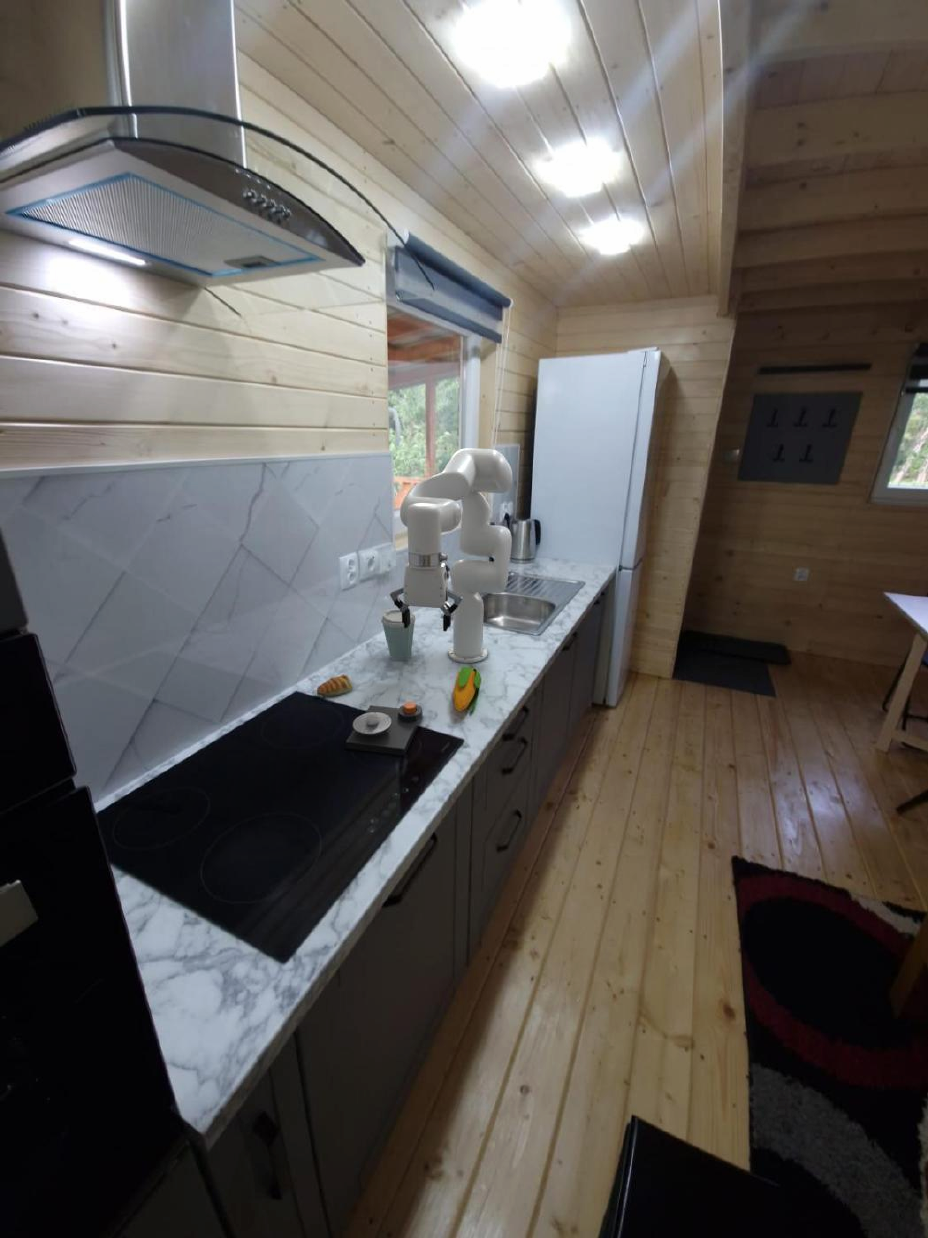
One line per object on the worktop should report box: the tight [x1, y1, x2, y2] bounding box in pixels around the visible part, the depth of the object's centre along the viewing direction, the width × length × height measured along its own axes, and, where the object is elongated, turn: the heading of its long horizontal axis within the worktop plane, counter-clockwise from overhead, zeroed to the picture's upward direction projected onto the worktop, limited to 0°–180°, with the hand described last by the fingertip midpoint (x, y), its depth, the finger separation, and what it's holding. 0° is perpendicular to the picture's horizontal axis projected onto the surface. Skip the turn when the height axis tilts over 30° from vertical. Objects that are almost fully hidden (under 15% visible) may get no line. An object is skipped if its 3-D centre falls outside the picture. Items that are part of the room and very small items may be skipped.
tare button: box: [403, 701, 417, 714], centre depth 124 cm, size 3×3×2 cm
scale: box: [345, 703, 424, 757], centre depth 120 cm, size 16×14×4 cm
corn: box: [452, 666, 482, 712], centre depth 133 cm, size 7×8×20 cm
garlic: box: [366, 710, 379, 725], centre depth 117 cm, size 3×4×3 cm
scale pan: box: [352, 712, 391, 736], centre depth 117 cm, size 9×9×1 cm
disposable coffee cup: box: [380, 608, 416, 662], centre depth 156 cm, size 11×11×15 cm
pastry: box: [316, 674, 354, 698], centre depth 138 cm, size 9×7×4 cm
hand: (426, 627), depth 119 cm, fingers open, 9 cm apart
